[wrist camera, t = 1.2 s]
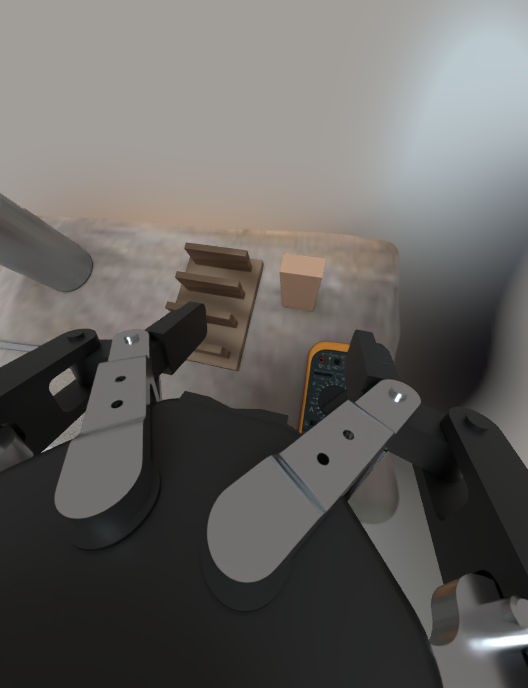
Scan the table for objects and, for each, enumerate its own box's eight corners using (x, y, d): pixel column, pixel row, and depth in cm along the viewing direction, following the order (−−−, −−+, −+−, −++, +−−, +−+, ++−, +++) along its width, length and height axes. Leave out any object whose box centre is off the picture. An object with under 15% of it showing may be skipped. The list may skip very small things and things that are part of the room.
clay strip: (312, 311, 36) (322, 277, 26) (282, 306, 37) (279, 271, 26) (315, 297, 37) (325, 258, 26) (285, 292, 37) (283, 253, 27)
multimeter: (365, 351, 34) (373, 346, 31) (354, 476, 31) (361, 487, 28) (309, 343, 36) (311, 338, 32) (292, 462, 32) (293, 471, 29)
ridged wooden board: (238, 370, 36) (227, 366, 30) (165, 355, 38) (142, 348, 32) (263, 265, 39) (259, 242, 33) (195, 255, 41) (180, 233, 35)
